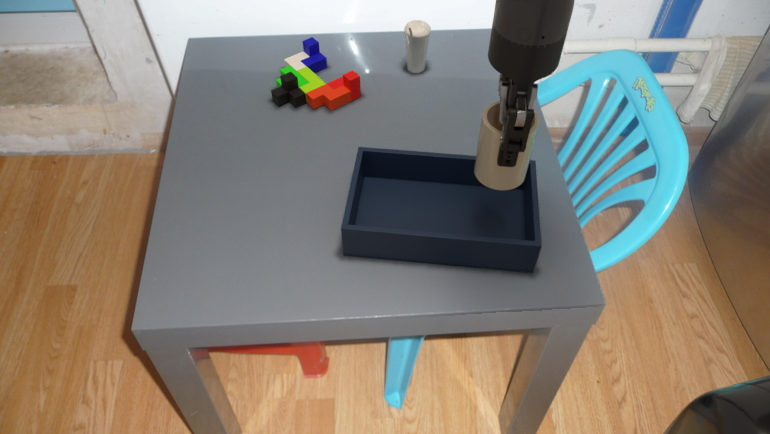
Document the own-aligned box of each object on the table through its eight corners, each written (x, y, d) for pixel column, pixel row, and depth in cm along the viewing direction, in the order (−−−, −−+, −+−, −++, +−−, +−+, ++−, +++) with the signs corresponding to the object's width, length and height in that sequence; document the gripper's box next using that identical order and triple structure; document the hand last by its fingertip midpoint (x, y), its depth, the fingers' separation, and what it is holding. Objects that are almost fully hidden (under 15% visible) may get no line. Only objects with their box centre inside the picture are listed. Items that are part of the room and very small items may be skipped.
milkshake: (396, 73, 107) (397, 24, 99) (410, 58, 110) (412, 9, 102) (419, 81, 105) (421, 31, 98) (432, 65, 108) (435, 16, 101)
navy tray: (528, 188, 88) (535, 160, 84) (533, 272, 78) (541, 246, 74) (359, 174, 90) (358, 146, 86) (343, 255, 80) (340, 228, 76)
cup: (536, 172, 75) (551, 118, 69) (503, 198, 72) (515, 144, 66) (496, 147, 79) (506, 92, 72) (463, 171, 76) (470, 116, 69)
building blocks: (254, 82, 105) (249, 62, 102) (314, 56, 110) (312, 36, 107) (298, 126, 98) (295, 105, 94) (361, 96, 103) (360, 75, 99)
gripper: (575, 66, 54) (539, 189, 67) (562, -13, 64) (533, 108, 76) (493, 61, 55) (473, 183, 68) (492, -16, 64) (475, 104, 77)
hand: (505, 143), depth 72 cm, fingers closed on cup, 6 cm apart
